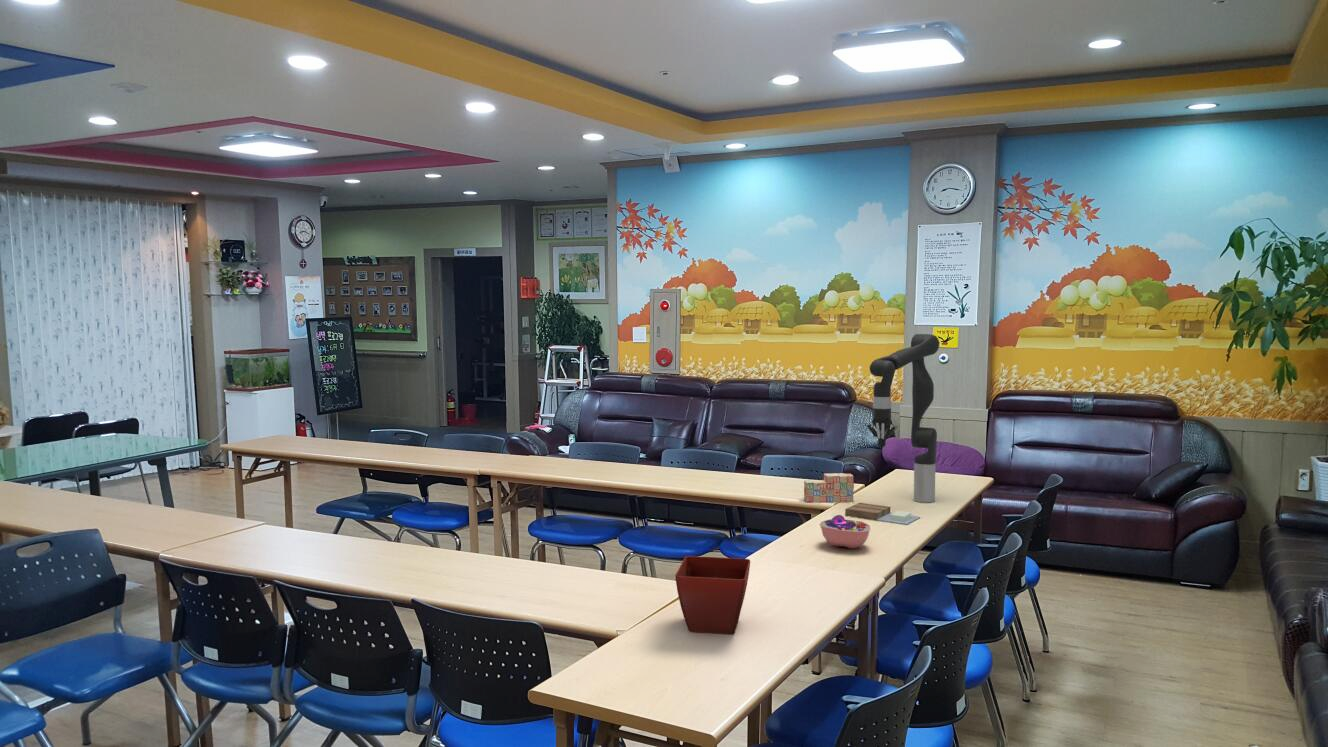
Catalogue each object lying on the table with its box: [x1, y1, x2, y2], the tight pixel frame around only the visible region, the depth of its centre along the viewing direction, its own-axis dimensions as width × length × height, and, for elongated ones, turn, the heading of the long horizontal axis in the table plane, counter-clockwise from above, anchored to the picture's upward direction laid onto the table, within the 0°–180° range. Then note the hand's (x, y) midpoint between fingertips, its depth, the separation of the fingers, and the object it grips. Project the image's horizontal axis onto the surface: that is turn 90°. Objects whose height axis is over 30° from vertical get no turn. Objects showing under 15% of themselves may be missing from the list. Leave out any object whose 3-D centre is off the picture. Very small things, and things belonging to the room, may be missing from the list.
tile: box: [890, 510, 912, 521], centre depth 368 cm, size 8×6×2 cm
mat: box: [876, 512, 921, 526], centre depth 369 cm, size 14×13×1 cm
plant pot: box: [675, 555, 751, 635], centre depth 249 cm, size 19×19×17 cm
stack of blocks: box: [803, 472, 855, 504], centre depth 403 cm, size 21×6×12 cm, turn 90°
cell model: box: [819, 514, 871, 549], centre depth 328 cm, size 17×20×11 cm
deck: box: [844, 502, 891, 522], centre depth 377 cm, size 14×14×3 cm
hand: (881, 447), depth 381 cm, fingers closed
